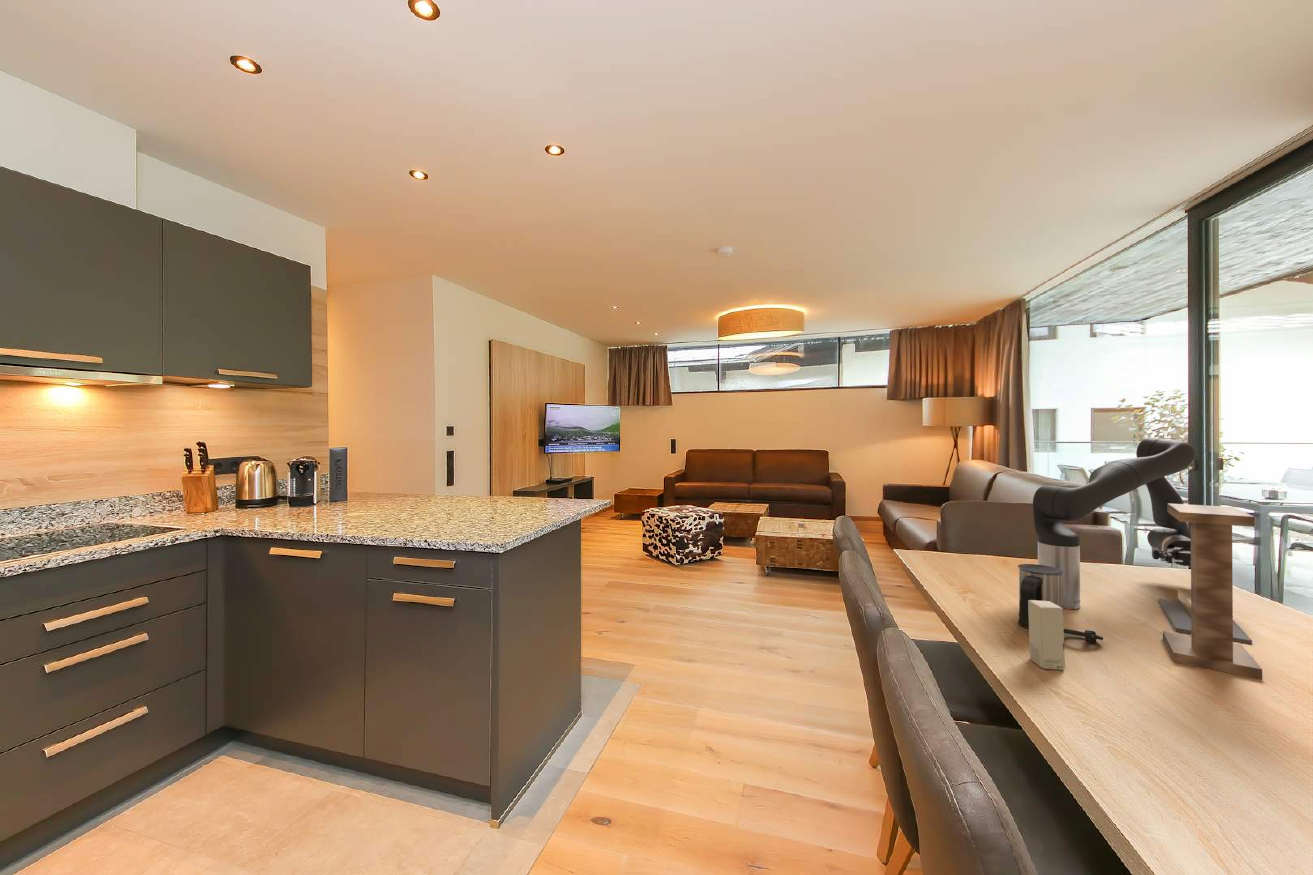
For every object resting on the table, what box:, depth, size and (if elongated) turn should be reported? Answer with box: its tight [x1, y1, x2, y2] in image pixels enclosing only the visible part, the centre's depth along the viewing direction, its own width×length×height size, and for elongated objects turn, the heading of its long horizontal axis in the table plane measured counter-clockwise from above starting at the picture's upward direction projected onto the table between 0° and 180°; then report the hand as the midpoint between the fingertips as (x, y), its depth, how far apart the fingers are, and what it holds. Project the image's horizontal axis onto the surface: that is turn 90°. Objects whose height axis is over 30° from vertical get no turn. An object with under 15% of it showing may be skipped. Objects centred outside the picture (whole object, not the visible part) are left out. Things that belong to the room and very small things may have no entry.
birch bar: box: [1177, 587, 1191, 615], centre depth 128 cm, size 3×24×3 cm, turn 141°
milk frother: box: [1017, 563, 1104, 644], centre depth 119 cm, size 14×16×15 cm
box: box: [1028, 600, 1066, 671], centre depth 103 cm, size 5×4×13 cm
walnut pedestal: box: [1162, 503, 1263, 680], centre depth 104 cm, size 12×15×32 cm
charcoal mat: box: [1157, 598, 1253, 645], centre depth 125 cm, size 12×26×1 cm, turn 141°
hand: (1193, 561), depth 130 cm, fingers open, 8 cm apart
